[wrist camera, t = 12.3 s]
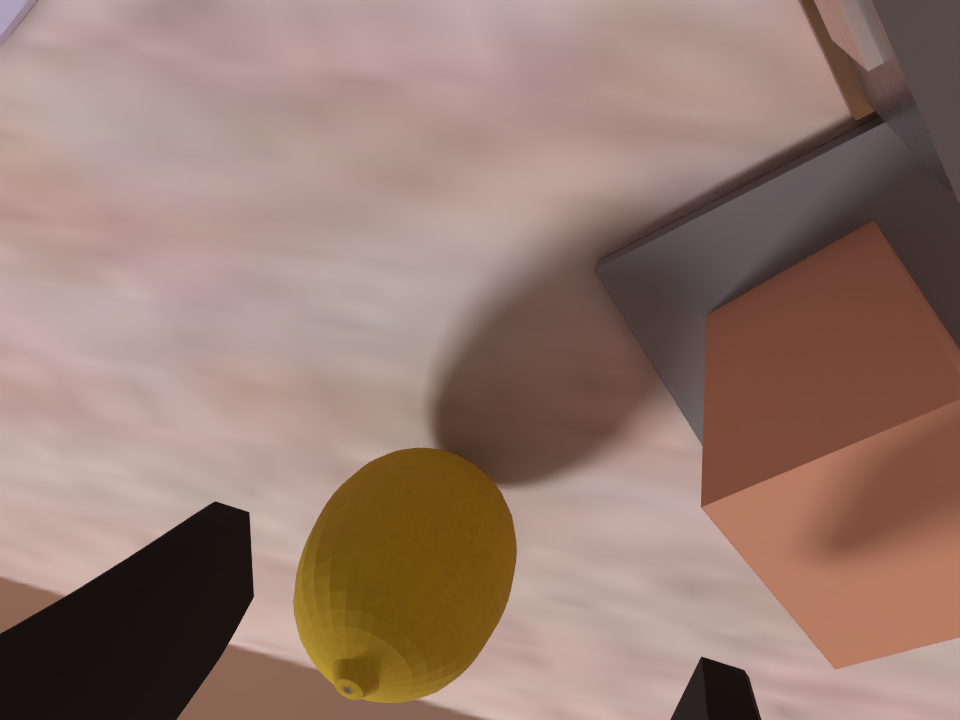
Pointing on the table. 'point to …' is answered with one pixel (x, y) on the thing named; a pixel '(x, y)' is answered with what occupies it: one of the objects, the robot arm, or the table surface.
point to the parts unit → (899, 71)
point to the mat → (782, 247)
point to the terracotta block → (840, 449)
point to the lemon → (405, 575)
